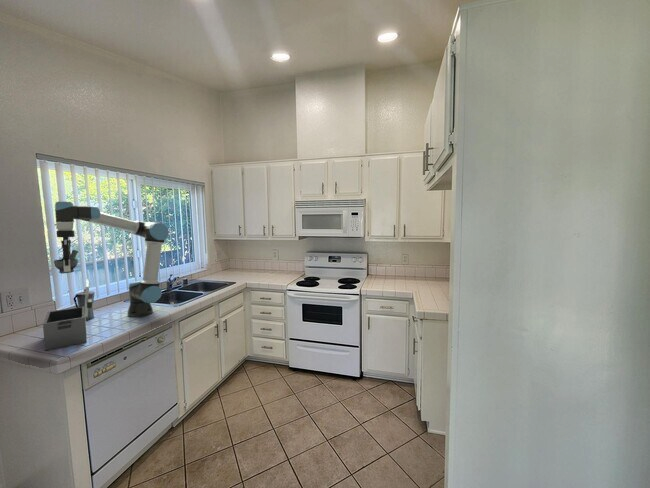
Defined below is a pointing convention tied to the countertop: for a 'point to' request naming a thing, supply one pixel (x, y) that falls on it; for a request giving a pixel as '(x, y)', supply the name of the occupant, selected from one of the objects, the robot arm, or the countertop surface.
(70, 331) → the storage box
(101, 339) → the countertop surface
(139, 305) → the robot arm
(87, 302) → the cream box lid
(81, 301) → the moka pot
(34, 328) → the countertop surface
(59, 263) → the mortar and pestle
